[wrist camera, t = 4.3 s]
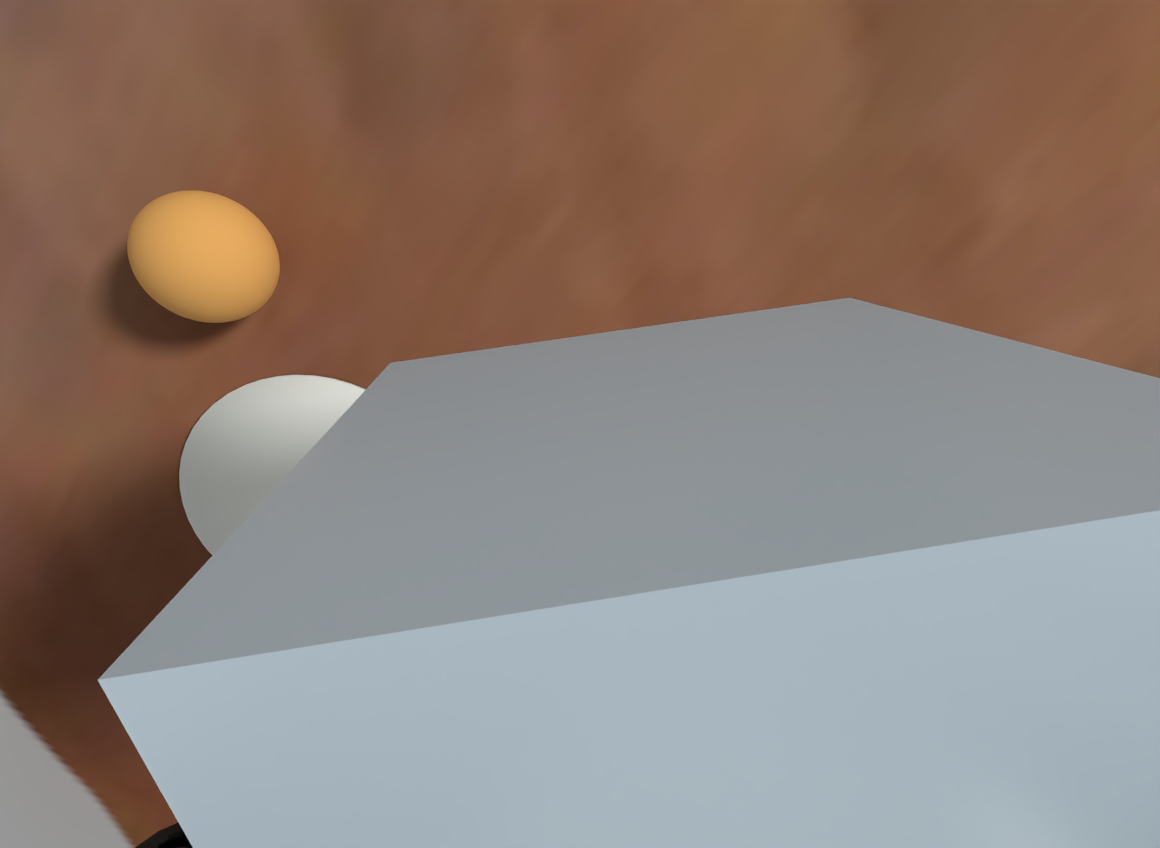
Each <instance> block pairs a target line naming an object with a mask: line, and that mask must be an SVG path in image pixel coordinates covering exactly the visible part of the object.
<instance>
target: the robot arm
mask: <svg viewBox="0 0 1160 848" xmlns="http://www.w3.org/2000/svg"><path fill="white" fill-rule="evenodd" d="M136 848H193V847H192V845H191V844H190V842H189V840H188V838H187V837H186V835H185V833H184V831H183V830H182V828H181V826H180V824H179V823H177V824H174V825H172V826H170V827H167V828H165V829H163V830H160V831H158V832H157V833H156V834H154V835H153V836H151V837H150V838H148V839H147V840H146V841H144V842H143V843H141V844H140V845H138V846H137V847H136Z"/></svg>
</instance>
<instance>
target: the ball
mask: <svg viewBox="0 0 1160 848" xmlns="http://www.w3.org/2000/svg"><path fill="white" fill-rule="evenodd" d="M127 253H128V258H129V262H130V265H131V268H132V271H133V273H134V275H135V277H136V279H137V280H138V282H139V284H140V285H141V286H142V288H143V289H144V290H145V291H146V292H147V293H148V294H149V295H150V297H152V298H153V299H154V300H155V301H156V302H157V303H159V304H160V305H162V306H163V307H165V308H166V309H168V310H170V311H171V312H173V313H175V314H177V315H180V316H182V317H185V318H188V319H192V320H195V321H200V322H210V323H223V322H230V321H235V320H239V319H241V318H244V317H247V316H249V315H250V314H252V313H254V312H256V311H257V310H258V309H260V308H261V307H262V306H263V305H264V304H265V303H266V302H267V301H268V300H269V298H270V297H271V296H272V294H273V292H274V290H275V288H276V285H277V282H278V279H279V273H280V261H279V255H278V251H277V248H276V245H275V242H274V240H273V238H272V236H271V234H270V233H269V231H268V230H267V228H266V227H265V226H264V225H263V223H262V222H261V221H260V220H259V219H258V218H257V217H256V216H255V215H254V214H253V213H252V212H250V211H249V210H248V209H246V208H245V207H244V206H242V205H240V204H239V203H237V202H235V201H233V200H231V199H229V198H227V197H224V196H221V195H218V194H214V193H210V192H205V191H195V190H191V191H178V192H173V193H169V194H166V195H164V196H161V197H159V198H157V199H155V200H153V201H152V202H150V203H149V204H148V205H146V206H145V207H144V208H143V209H142V210H141V211H140V212H139V213H138V215H137V216H136V218H135V219H134V221H133V223H132V225H131V228H130V230H129V234H128V240H127Z"/></svg>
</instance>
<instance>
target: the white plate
mask: <svg viewBox="0 0 1160 848" xmlns="http://www.w3.org/2000/svg"><path fill="white" fill-rule="evenodd" d="M365 390H366V389H364V388H362V387H359V386H357V385H354V384H352V383H348V382H345V381H342V380H338V379H335V378H329V377H323V376H317V375H300V374H295V375H282V376H275V377H270V378H265V379H261V380H258V381H255V382H252V383H249V384H246V385H244V386H242V387H240V388H238V389H236V390H234V391H232V392H230V393H228V394H227V395H225V396H224V397H223V398H221V399H220V400H218V401H217V402H216V403H214V404H213V405H212V406H211V407H210V408H209V409H208V410H207V411H206V412H205V413H204V414H203V415H202V416H201V417H200V419H199V420H198V422H197V423H196V424H195V426H194V427H193V429H192V431H191V433H190V435H189V437H188V439H187V441H186V443H185V446H184V449H183V453H182V456H181V462H180V470H179V483H180V492H181V498H182V503H183V506H184V509H185V512H186V515H187V518H188V520H189V522H190V524H191V526H192V528H193V530H194V532H195V534H196V535H197V536H198V538H199V539H200V541H201V542H202V544H203V545H204V547H205V548H206V549H207V550H208V551H209V552H210V553H211V555H212V556H213V555H214V554H215V552H216V551H217V550H218V549H219V548H220V547H221V546H222V545H223V544H224V543H225V542H226V541H227V539H228V538H229V537H230V536H231V535H232V534H233V533H234V532H235V531H236V530H237V529H238V528H239V526H240V525H241V524H242V523H243V522H244V521H245V520H246V519H247V518H248V517H249V516H250V515H251V513H252V512H253V511H254V510H255V509H256V508H257V507H258V506H259V505H260V504H261V503H262V502H263V500H264V499H265V498H266V497H267V496H268V495H269V494H270V493H271V492H272V491H273V490H274V489H275V487H276V486H277V485H278V484H279V483H280V482H281V481H282V480H283V479H284V478H285V477H286V476H287V474H288V473H289V472H290V471H291V470H292V469H293V468H294V467H295V466H296V465H297V464H298V463H299V462H300V460H301V459H302V458H303V457H304V456H305V455H306V454H307V453H308V452H309V451H310V450H311V449H312V447H313V446H314V445H315V444H316V443H317V442H318V441H319V440H320V439H321V438H322V437H323V436H324V434H325V433H326V432H327V431H328V430H329V429H330V428H331V427H332V426H333V425H334V424H335V423H336V421H337V420H338V419H339V418H340V417H341V416H342V415H343V414H344V413H345V412H346V411H347V410H348V408H349V407H350V406H351V405H352V404H353V403H354V402H355V401H356V400H357V399H358V398H359V397H360V395H361V394H362V393H363V392H364V391H365Z"/></svg>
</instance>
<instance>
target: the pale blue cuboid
mask: <svg viewBox="0 0 1160 848" xmlns="http://www.w3.org/2000/svg"><path fill="white" fill-rule="evenodd" d="M98 682H99V683H100V685H101V687H102V689H103V690H104V692H105V694H106V696H107V698H108V699H109V701H110V703H111V705H112V706H113V708H114V710H115V712H116V713H117V715H118V717H119V719H120V720H121V722H122V724H123V726H124V727H125V729H126V731H127V733H128V734H129V736H130V738H131V740H132V742H133V743H134V745H135V747H136V749H137V750H138V752H139V754H140V756H141V757H142V759H143V761H144V763H145V764H146V766H147V768H148V770H149V771H150V773H151V775H152V777H153V778H154V780H155V782H156V784H157V786H158V787H159V789H160V791H161V793H162V794H163V796H164V798H165V800H166V801H167V803H168V805H169V807H170V808H171V810H172V812H173V814H174V815H175V817H176V819H177V821H178V822H179V824H180V826H181V828H182V830H183V831H184V833H185V835H186V837H187V838H188V840H189V842H190V844H191V845H192V847H193V848H1160V378H1156V377H1152V376H1149V375H1145V374H1141V373H1137V372H1133V371H1129V370H1125V369H1122V368H1118V367H1114V366H1110V365H1106V364H1102V363H1099V362H1095V361H1091V360H1087V359H1083V358H1079V357H1075V356H1072V355H1068V354H1064V353H1060V352H1056V351H1052V350H1049V349H1045V348H1041V347H1037V346H1033V345H1029V344H1025V343H1022V342H1018V341H1014V340H1010V339H1006V338H1002V337H998V336H995V335H991V334H987V333H983V332H979V331H975V330H972V329H968V328H964V327H960V326H956V325H952V324H948V323H945V322H941V321H937V320H933V319H929V318H925V317H922V316H918V315H914V314H910V313H906V312H902V311H898V310H895V309H891V308H887V307H883V306H879V305H875V304H872V303H868V302H864V301H860V300H856V299H852V298H845V299H838V300H831V301H824V302H817V303H810V304H803V305H796V306H789V307H782V308H775V309H768V310H761V311H753V312H746V313H739V314H732V315H725V316H718V317H711V318H704V319H697V320H690V321H683V322H676V323H669V324H662V325H655V326H648V327H641V328H634V329H627V330H620V331H612V332H605V333H598V334H591V335H584V336H577V337H570V338H563V339H556V340H549V341H542V342H535V343H528V344H521V345H514V346H507V347H500V348H493V349H486V350H479V351H471V352H464V353H457V354H450V355H443V356H436V357H429V358H422V359H415V360H408V361H401V362H394V363H390V364H389V365H388V366H387V367H386V368H385V370H384V371H383V372H382V373H381V374H380V375H379V376H378V377H377V378H376V379H375V380H374V381H373V383H372V384H371V385H370V386H369V387H368V388H367V389H366V390H365V391H364V392H363V393H362V394H361V395H360V397H359V398H358V399H357V400H356V401H355V402H354V403H353V404H352V405H351V406H350V407H349V408H348V410H347V411H346V412H345V413H344V414H343V415H342V416H341V417H340V418H339V419H338V420H337V421H336V423H335V424H334V425H333V426H332V427H331V428H330V429H329V430H328V431H327V432H326V433H325V434H324V436H323V437H322V438H321V439H320V440H319V441H318V442H317V443H316V444H315V445H314V446H313V447H312V449H311V450H310V451H309V452H308V453H307V454H306V455H305V456H304V457H303V458H302V459H301V460H300V462H299V463H298V464H297V465H296V466H295V467H294V468H293V469H292V470H291V471H290V472H289V473H288V474H287V476H286V477H285V478H284V479H283V480H282V481H281V482H280V483H279V484H278V485H277V486H276V487H275V489H274V490H273V491H272V492H271V493H270V494H269V495H268V496H267V497H266V498H265V499H264V500H263V502H262V503H261V504H260V505H259V506H258V507H257V508H256V509H255V510H254V511H253V512H252V513H251V515H250V516H249V517H248V518H247V519H246V520H245V521H244V522H243V523H242V524H241V525H240V526H239V528H238V529H237V530H236V531H235V532H234V533H233V534H232V535H231V536H230V537H229V538H228V539H227V541H226V542H225V543H224V544H223V545H222V546H221V547H220V548H219V549H218V550H217V551H216V552H215V554H214V555H213V556H212V557H211V558H210V559H209V560H208V561H207V562H206V563H205V564H204V565H203V566H202V568H201V569H200V570H199V571H198V572H197V573H196V574H195V575H194V576H193V577H192V578H191V579H190V581H189V582H188V583H187V584H186V585H185V586H184V587H183V588H182V589H181V590H180V591H179V592H178V594H177V595H176V596H175V597H174V598H173V599H172V600H171V601H170V602H169V603H168V604H167V605H166V607H165V608H164V609H163V610H162V611H161V612H160V613H159V614H158V615H157V616H156V617H155V618H154V620H153V621H152V622H151V623H150V624H149V625H148V626H147V627H146V628H145V629H144V630H143V631H142V633H141V634H140V635H139V636H138V637H137V638H136V639H135V640H134V641H133V642H132V643H131V644H130V645H129V647H128V648H127V649H126V650H125V651H124V652H123V653H122V654H121V655H120V656H119V657H118V658H117V660H116V661H115V662H114V663H113V664H112V665H111V666H110V667H109V668H108V669H107V670H106V671H105V673H104V674H103V675H102V676H101V677H100V678H99V679H98Z"/></svg>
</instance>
